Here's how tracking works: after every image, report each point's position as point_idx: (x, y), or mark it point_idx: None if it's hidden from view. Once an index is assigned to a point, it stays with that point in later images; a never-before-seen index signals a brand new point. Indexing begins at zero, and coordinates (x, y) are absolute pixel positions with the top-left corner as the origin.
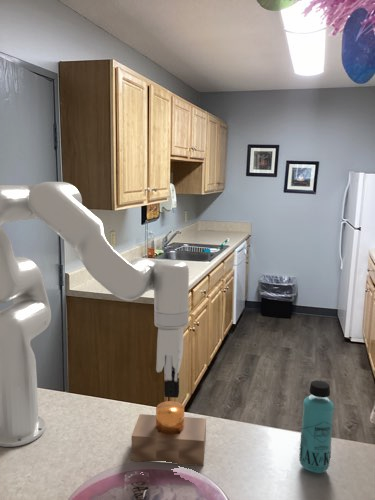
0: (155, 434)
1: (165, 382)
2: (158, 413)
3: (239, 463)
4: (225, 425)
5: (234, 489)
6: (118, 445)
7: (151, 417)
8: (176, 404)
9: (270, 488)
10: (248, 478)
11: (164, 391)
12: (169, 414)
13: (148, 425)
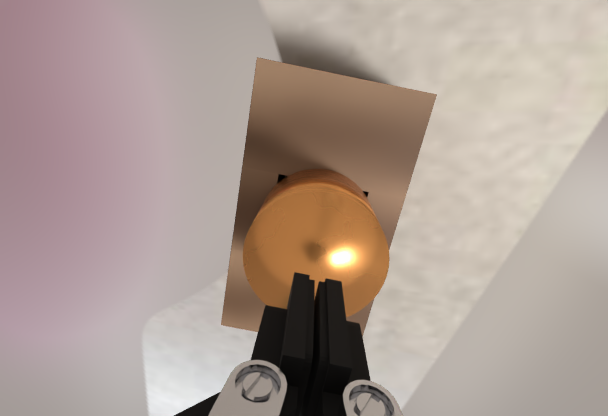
0: (263, 164)
1: (284, 348)
2: (276, 200)
3: (250, 356)
4: (422, 359)
5: (159, 327)
6: (366, 11)
7: (396, 151)
8: (350, 293)
9: (167, 392)
10: (197, 362)
11: (291, 291)
12: (256, 253)
13: (333, 136)
